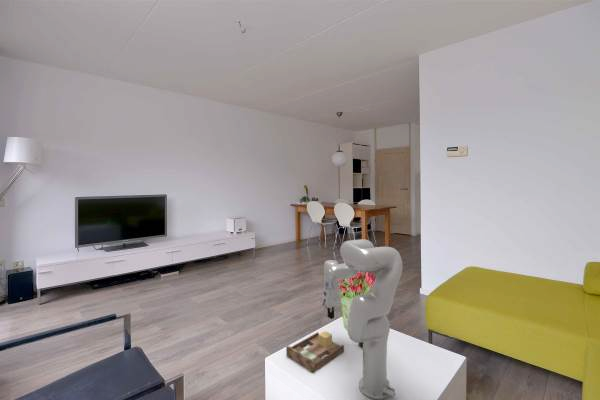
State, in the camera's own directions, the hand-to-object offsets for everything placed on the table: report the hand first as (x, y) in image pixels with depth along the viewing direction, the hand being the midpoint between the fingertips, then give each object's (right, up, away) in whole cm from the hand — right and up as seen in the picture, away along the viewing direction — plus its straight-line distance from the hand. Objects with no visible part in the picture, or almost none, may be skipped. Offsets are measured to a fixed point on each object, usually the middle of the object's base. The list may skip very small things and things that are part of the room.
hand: (330, 317), depth 148 cm
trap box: (-9, -15, -9) cm, 19 cm away
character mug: (+18, -14, -2) cm, 23 cm away
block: (-3, -12, -3) cm, 13 cm away
